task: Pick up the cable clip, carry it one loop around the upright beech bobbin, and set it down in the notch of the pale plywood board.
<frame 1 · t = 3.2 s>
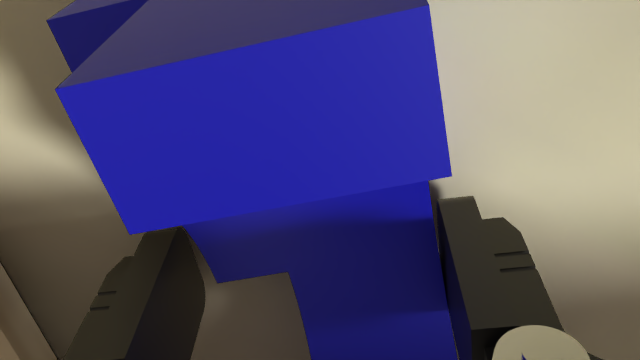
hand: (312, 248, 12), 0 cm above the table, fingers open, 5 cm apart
cable clip: (325, 215, 13), on the table, touching gripper
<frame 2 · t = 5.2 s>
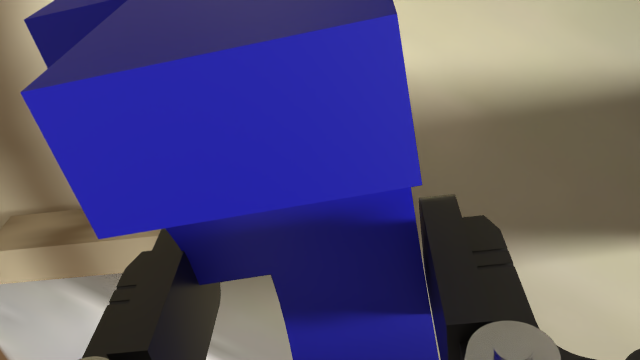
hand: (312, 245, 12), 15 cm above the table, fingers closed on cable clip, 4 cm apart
cable clip: (310, 218, 13), point 14 cm above the table, touching gripper
notched board: (18, 76, 27), on the table
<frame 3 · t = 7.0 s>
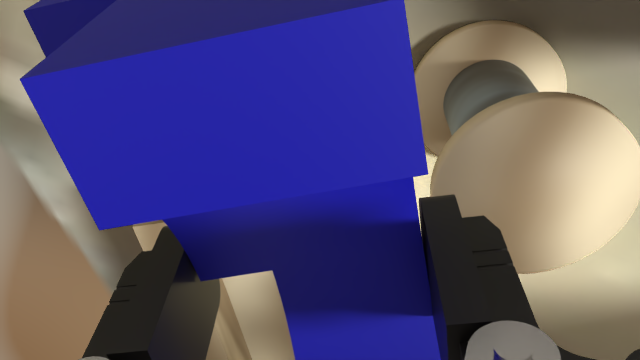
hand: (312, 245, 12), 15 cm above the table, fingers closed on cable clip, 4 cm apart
cable clip: (311, 214, 13), point 15 cm above the table, touching gripper
notched board: (302, 293, 34), on the table
bobbin: (483, 94, 27), on the table
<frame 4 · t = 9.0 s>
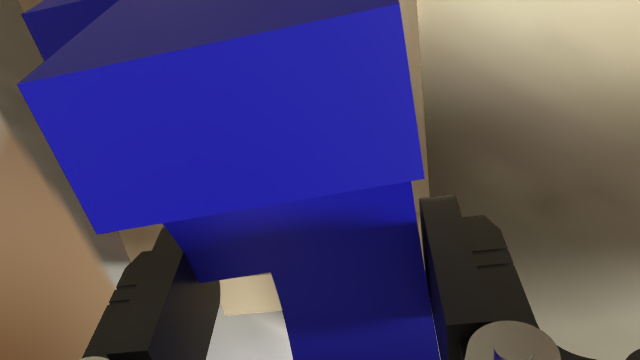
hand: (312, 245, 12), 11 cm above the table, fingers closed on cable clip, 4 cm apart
cable clip: (310, 216, 13), point 11 cm above the table, touching gripper
notched board: (261, 67, 22), on the table
when the fingers open (3 cm above the table, at t = 10.7 s): cable clip drops 2 cm, resting on notched board.
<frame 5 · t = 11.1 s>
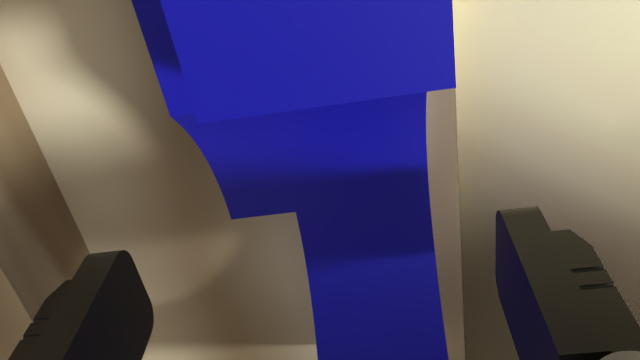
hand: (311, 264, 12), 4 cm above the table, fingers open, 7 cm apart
cable clip: (329, 168, 14), point 1 cm above the table, touching notched board
notched board: (226, 177, 15), on the table
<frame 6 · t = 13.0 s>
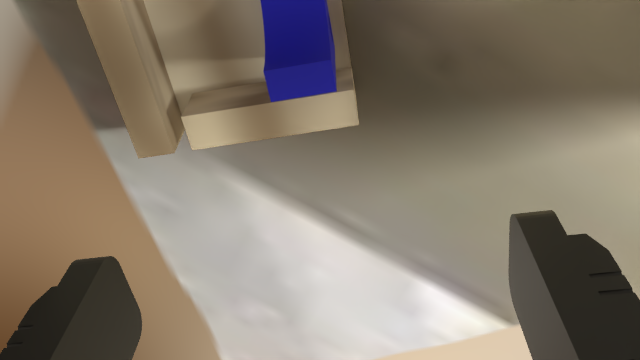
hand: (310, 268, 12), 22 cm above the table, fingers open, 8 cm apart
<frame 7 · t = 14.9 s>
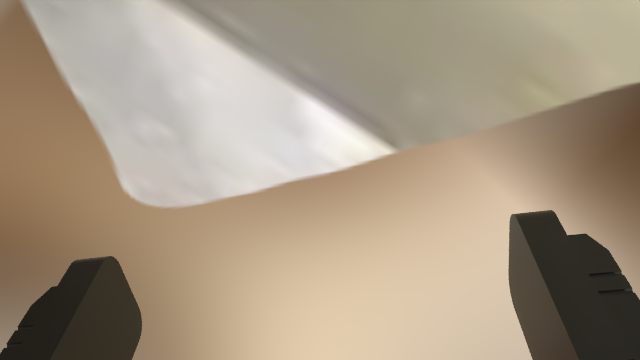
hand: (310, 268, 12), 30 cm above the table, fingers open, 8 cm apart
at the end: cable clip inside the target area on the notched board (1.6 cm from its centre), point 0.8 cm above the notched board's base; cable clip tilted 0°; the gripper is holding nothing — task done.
